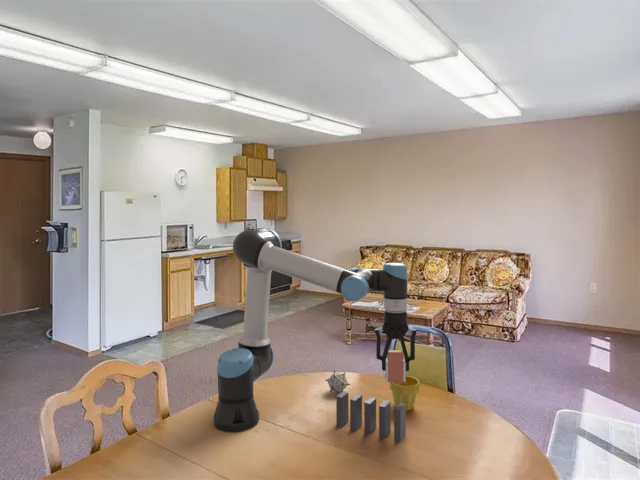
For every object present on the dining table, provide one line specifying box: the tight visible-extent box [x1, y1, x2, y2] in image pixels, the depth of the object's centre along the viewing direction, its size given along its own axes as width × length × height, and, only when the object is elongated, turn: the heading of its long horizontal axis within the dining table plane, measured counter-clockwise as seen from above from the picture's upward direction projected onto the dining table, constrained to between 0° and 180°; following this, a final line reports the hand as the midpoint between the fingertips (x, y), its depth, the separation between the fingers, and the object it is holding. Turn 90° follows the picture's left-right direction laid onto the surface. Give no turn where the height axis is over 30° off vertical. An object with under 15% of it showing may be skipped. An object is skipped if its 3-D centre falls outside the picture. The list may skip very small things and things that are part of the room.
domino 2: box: [349, 393, 363, 432], centre depth 149 cm, size 2×5×10 cm, turn 151°
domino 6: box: [393, 403, 407, 443], centre depth 142 cm, size 2×5×10 cm, turn 151°
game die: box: [325, 370, 351, 394], centre depth 177 cm, size 9×8×10 cm
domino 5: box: [386, 349, 404, 383], centre depth 150 cm, size 2×5×10 cm, turn 85°
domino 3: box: [363, 396, 377, 435], centre depth 147 cm, size 2×5×10 cm, turn 151°
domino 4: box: [378, 399, 392, 439], centre depth 144 cm, size 2×5×10 cm, turn 151°
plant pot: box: [389, 375, 420, 412], centre depth 164 cm, size 10×10×10 cm
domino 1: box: [335, 390, 350, 428], centre depth 152 cm, size 2×5×10 cm, turn 151°
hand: (395, 379), depth 150 cm, fingers closed on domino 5, 5 cm apart
